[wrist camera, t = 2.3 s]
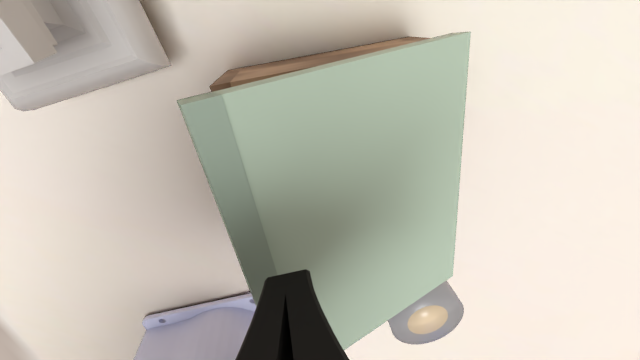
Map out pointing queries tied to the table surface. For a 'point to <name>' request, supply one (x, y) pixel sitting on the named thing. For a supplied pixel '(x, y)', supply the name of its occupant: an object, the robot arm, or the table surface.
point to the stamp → (72, 48)
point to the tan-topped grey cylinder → (428, 316)
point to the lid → (343, 176)
